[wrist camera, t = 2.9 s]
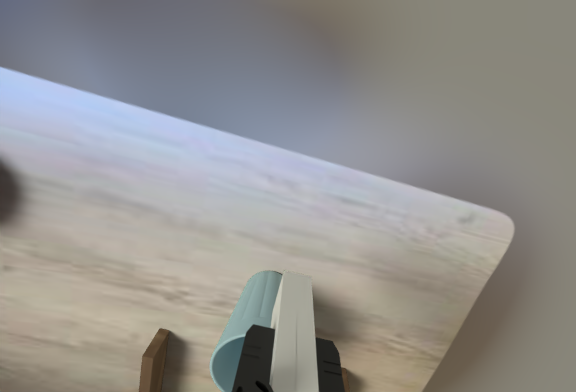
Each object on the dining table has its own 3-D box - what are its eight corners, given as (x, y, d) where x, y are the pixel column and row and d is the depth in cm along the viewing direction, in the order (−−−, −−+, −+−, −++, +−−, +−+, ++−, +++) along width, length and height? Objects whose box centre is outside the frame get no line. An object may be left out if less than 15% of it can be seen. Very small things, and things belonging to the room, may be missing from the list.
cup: (248, 323, 34) (227, 413, 24) (227, 270, 31) (195, 345, 21) (308, 310, 33) (313, 398, 23) (291, 255, 31) (288, 325, 21)
